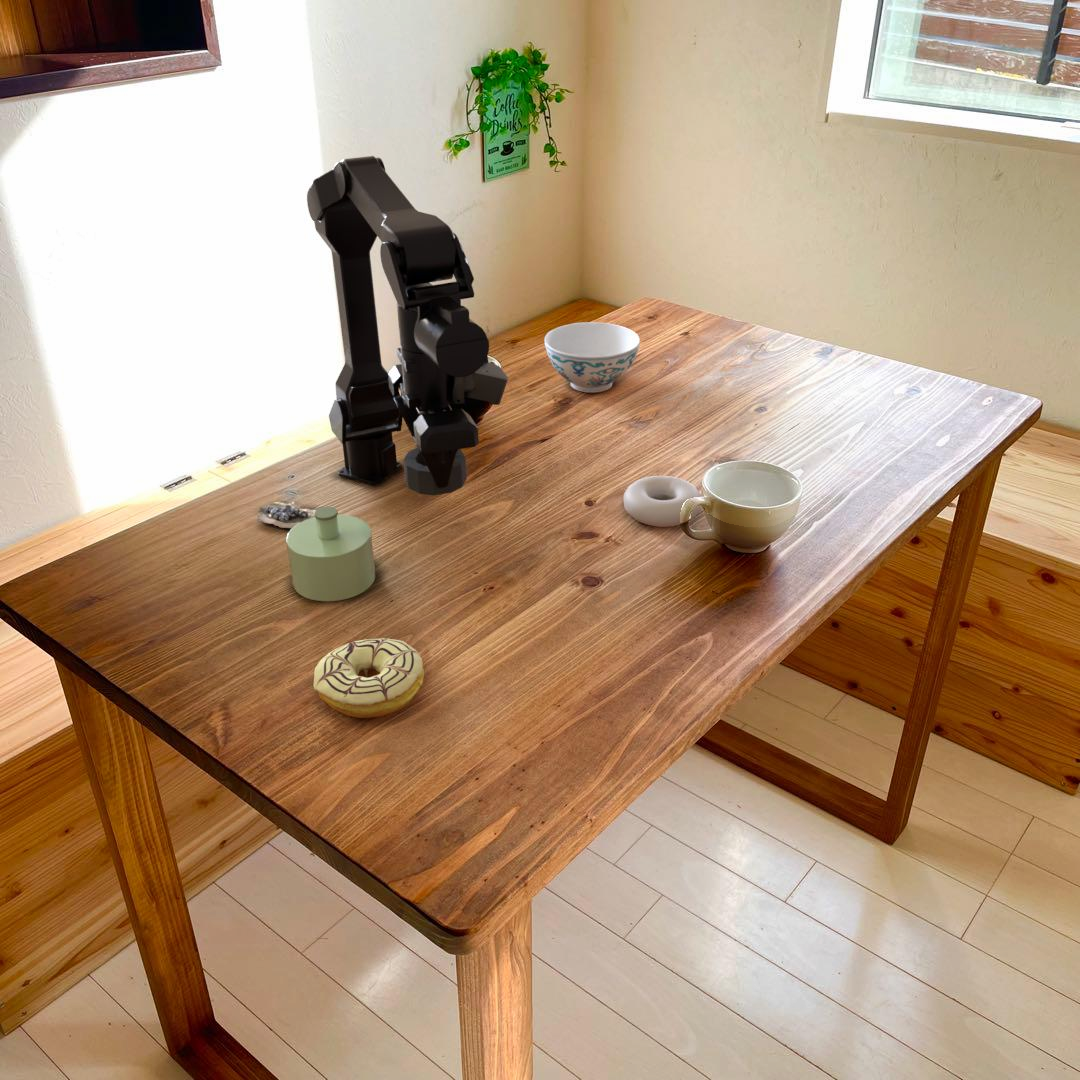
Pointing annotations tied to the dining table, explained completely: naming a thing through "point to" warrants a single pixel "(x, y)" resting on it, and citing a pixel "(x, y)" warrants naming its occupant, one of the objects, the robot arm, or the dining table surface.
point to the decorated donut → (369, 677)
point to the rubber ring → (422, 479)
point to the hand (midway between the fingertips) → (435, 472)
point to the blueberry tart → (284, 514)
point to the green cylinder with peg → (331, 556)
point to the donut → (659, 500)
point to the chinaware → (591, 353)
